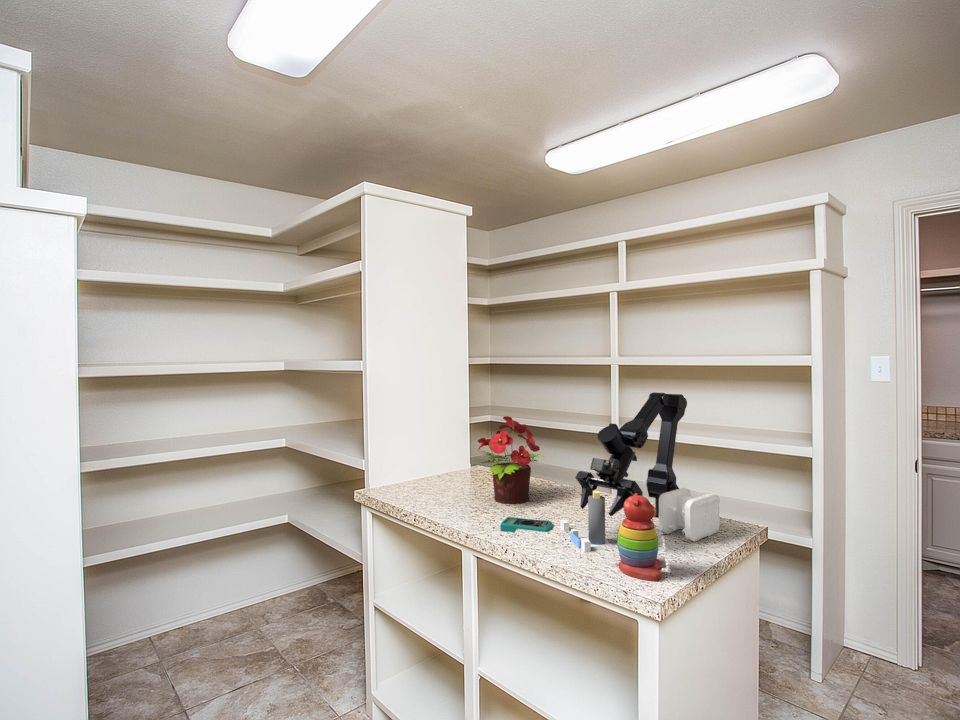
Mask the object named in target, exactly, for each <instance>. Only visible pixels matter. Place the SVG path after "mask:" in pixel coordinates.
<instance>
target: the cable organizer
mask: <svg viewBox="0 0 960 720" xmlns="http://www.w3.org/2000/svg"><path fill="white" fill-rule="evenodd" d="M691 491H692V490H690V489H689V488H685V487H682V488H681V487H680V488H679V489H677V490H673V491H670V492H666V493H663V494H661V495H660V497H659V518H658V529H659V531H660V532H662V533H664V534H665V535H669V534H671V533H673V532H675V531H676V530H682V531H681V533H682V535H683V536H684V537H685V539H686V540H688V541H689V540H690V541H692V542H693V543H694V542H697V541H700V540H701V539H703V538H705V537H707V536H708V537H710V536H712V535H714V534H716V533H717V532H718V531H719V529H720V526H721V525H720V503H721V499H720V497H719V495H718V494H715V493H706V494H703V495H699V496H695V497H694V496H692V493H691Z"/></svg>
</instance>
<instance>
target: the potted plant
mask: <svg viewBox="0 0 960 720" xmlns="http://www.w3.org/2000/svg"><path fill="white" fill-rule="evenodd" d="M502 419H503V420H504V421H505V424H501V425H500V426H498V429H499V430H497V431H496V432H495V434H494V435H493V436H492V437H491V438H489V439H488V438H485V437H482V438H480V439H477V442H478V443H479V444H480V445H479V446H478V448H477V452H480V449H481V448H482V447H486V446H488V447H489V450H490V451H491V452H487V451H484V450H481V453H483V455H485V456H483V457H484V458H485V457H486V458H487V457H488V459H487V460H485V461H482V462H478V463H475V464H474V466H476V465H479V464H483V465H484V464H487V463H488V464H492V463H493V464H494V463H496V464H494V465H493V466H491V468H489V469H488V472H490V474H492V482H493V493H494V496H493V498H494V499H493V500H494V501H495V502H496V503H499V504H505V505H519V504H524V503H527V502H529V501H530V484H531V472H532V468H531V466H530V465H529V464H530V463H531V462H532V463H534V462H538V461H539V459H535V458H540V457H542V458H547V457H546V456H545V455H544V456H543V455H542V454H541V453H539V454H538V453H537V454H535V453H536V452H538V451H540V450H541V449H540V446H539V445H537V444H536V441H535V440H534V438H533V433H532V431H531V430H529V429H527V428H528V426H527V425H526V424H521V423H519V422H518V421H517V420H514V419H513V418H512V417H511V416H508V415H507V416H503V417H502ZM506 428H509V429H510V430H511V431H512V434H514V432H515V433H517V437H519V438H521V439H523V440H525V443H526V446H525V445H520V446H518V450H517V449H514V450H512V451H511V453H510V454H509V452H508V450H507V447H508V446H511V448H513V444H514V436H512V435H511V436H510V435H509V434H508V431H506V430H503V429H506ZM524 433H526V437H525V436H524V435H523V434H524ZM527 447H528V448H529V450H530V451H532V452H535V453H530V452H529V451H528V450H527V449H526V448H527ZM503 453H504V455H501V454H503ZM506 453H507V454H506ZM494 454H497V455H494ZM499 454H500V455H499ZM502 461H504V462H502Z"/></svg>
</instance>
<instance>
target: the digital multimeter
mask: <svg viewBox="0 0 960 720" xmlns="http://www.w3.org/2000/svg"><path fill="white" fill-rule="evenodd" d="M499 527H500V529H499V530H500V531H501V532H507V533H516V532H517V530H523V531H524V530H525V531H532V532H533V531H534V532H541V533H542V532H543V533H547V532H549V531H551V530H552V529H553V522H552V521H551V520H546V519H545V520H544V519H543V520H541V519H532V518H522V517H513V516H507V517H506V518H504V519H503V520H502V521H501V523H500V525H499Z"/></svg>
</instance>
